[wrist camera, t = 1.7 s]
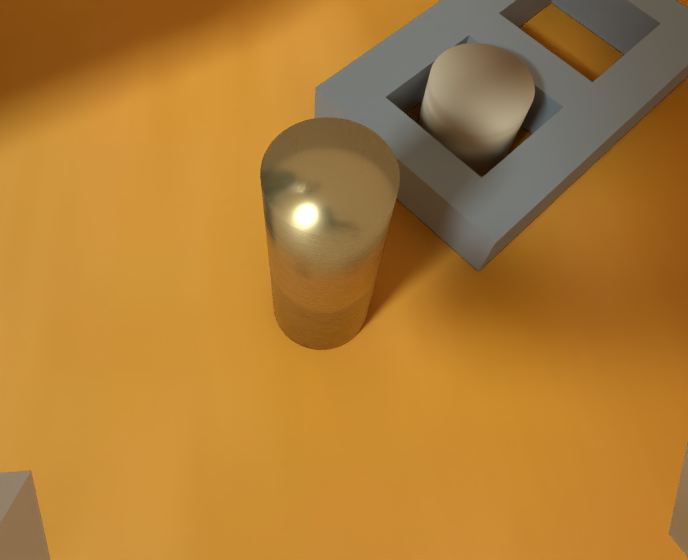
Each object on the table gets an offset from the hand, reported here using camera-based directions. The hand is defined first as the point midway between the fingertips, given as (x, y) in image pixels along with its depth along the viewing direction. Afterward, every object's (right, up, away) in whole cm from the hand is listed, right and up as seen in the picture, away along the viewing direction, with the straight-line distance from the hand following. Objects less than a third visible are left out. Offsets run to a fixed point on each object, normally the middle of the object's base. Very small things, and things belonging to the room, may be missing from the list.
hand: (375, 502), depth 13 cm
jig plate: (+9, +15, +24) cm, 30 cm away
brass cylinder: (-2, +3, +18) cm, 18 cm away
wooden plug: (+6, +12, +22) cm, 26 cm away
